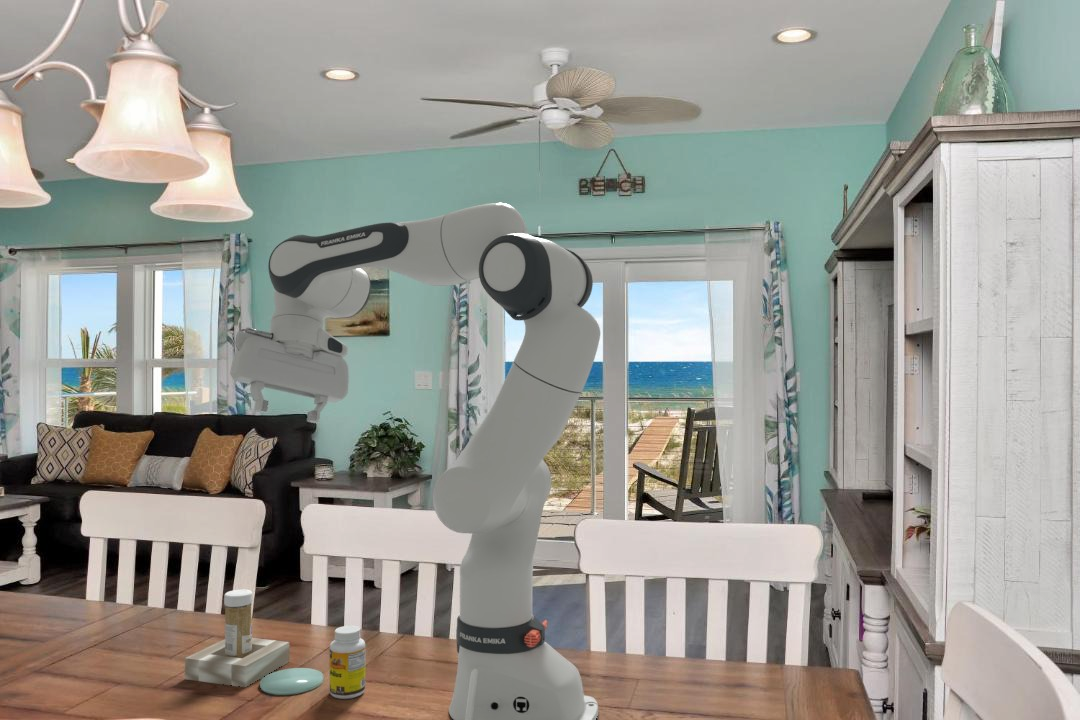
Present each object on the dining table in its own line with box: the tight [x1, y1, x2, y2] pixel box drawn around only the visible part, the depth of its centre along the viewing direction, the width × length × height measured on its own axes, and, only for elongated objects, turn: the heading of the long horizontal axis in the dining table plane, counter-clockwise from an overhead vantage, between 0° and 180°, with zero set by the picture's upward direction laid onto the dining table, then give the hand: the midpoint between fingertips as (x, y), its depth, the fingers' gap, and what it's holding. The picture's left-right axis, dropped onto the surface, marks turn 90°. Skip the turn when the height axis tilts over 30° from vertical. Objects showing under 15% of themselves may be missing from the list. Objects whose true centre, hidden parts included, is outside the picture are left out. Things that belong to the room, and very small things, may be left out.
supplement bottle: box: [329, 625, 366, 700], centre depth 132 cm, size 6×6×10 cm
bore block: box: [184, 637, 290, 688], centre depth 142 cm, size 12×12×4 cm
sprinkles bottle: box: [223, 588, 253, 658], centre depth 142 cm, size 5×5×14 cm
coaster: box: [259, 667, 324, 696], centre depth 137 cm, size 10×10×1 cm
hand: (287, 416), depth 139 cm, fingers open, 8 cm apart
